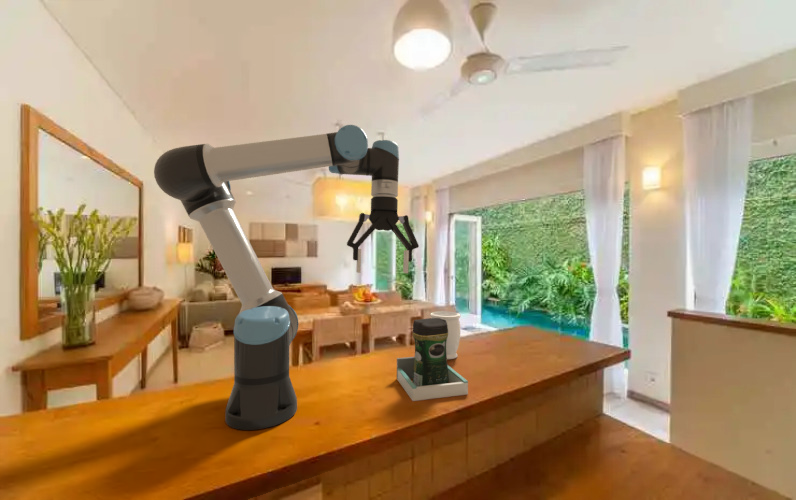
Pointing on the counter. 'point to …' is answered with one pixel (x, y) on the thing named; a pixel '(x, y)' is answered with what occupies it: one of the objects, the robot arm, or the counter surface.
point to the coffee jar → (430, 352)
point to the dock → (431, 391)
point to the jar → (450, 331)
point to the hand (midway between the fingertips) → (382, 272)
